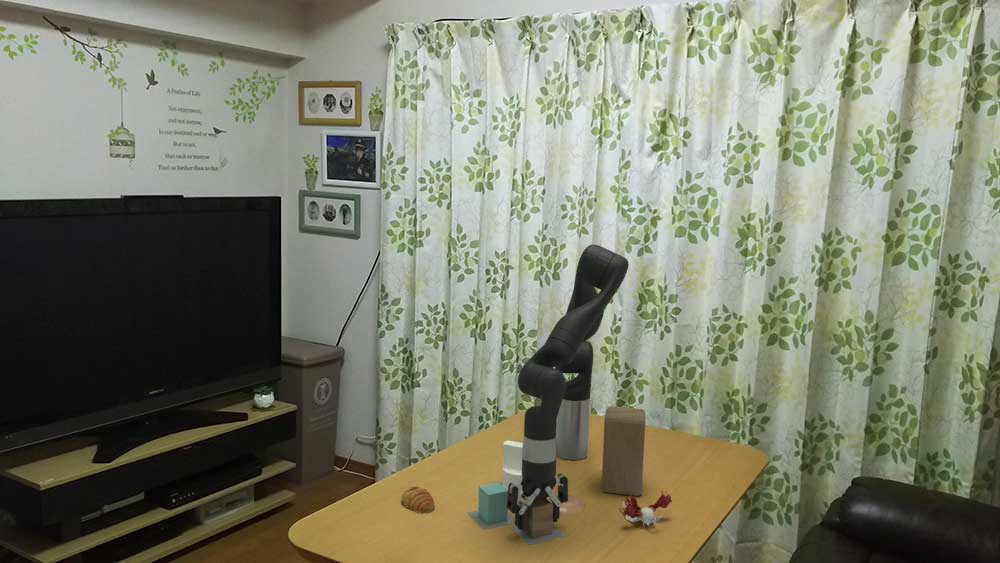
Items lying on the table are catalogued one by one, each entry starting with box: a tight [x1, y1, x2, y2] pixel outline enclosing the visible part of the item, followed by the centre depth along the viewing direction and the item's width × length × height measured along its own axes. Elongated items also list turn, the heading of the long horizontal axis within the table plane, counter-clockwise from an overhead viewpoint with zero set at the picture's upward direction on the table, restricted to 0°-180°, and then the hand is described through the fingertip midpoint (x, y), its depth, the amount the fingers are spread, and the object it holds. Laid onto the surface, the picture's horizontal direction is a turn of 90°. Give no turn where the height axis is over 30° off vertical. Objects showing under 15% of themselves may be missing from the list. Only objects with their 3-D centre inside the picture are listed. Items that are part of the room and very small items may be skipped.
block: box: [600, 405, 646, 497], centre depth 183 cm, size 10×10×20 cm
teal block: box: [477, 482, 509, 524], centre depth 165 cm, size 5×5×7 cm
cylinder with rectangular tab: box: [501, 440, 523, 498], centre depth 180 cm, size 9×9×12 cm
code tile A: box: [509, 525, 565, 546], centre depth 159 cm, size 9×9×1 cm
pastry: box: [401, 485, 436, 514], centre depth 171 cm, size 9×7×4 cm
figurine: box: [617, 490, 673, 530], centre depth 166 cm, size 15×12×7 cm
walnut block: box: [523, 497, 554, 539], centre depth 159 cm, size 5×5×7 cm
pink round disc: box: [546, 493, 585, 516], centre depth 173 cm, size 11×11×1 cm
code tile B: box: [467, 510, 515, 531], centre depth 166 cm, size 9×9×1 cm
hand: (537, 524), depth 159 cm, fingers open, 8 cm apart
